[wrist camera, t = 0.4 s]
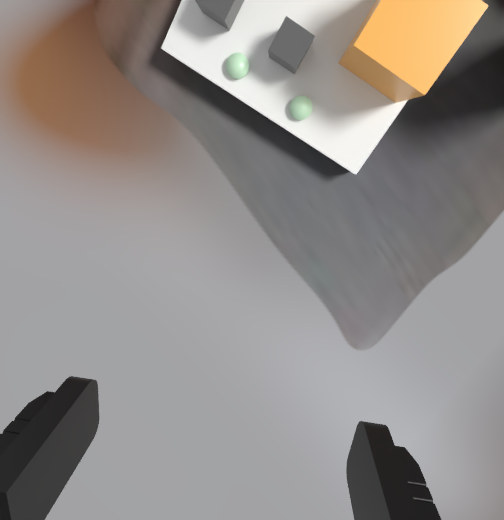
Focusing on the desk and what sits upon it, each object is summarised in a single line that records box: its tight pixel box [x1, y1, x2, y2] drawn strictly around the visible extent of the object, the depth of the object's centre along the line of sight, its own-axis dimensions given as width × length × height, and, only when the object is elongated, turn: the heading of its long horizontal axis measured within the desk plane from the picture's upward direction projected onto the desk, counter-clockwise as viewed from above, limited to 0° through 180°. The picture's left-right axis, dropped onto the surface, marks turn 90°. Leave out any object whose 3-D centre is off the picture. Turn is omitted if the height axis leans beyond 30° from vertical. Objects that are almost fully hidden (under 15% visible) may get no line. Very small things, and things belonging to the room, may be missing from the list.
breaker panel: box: [161, 0, 408, 175], centre depth 28 cm, size 14×19×3 cm
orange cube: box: [339, 0, 488, 103], centre depth 24 cm, size 6×6×6 cm
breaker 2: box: [268, 16, 315, 74], centre depth 26 cm, size 2×2×3 cm
